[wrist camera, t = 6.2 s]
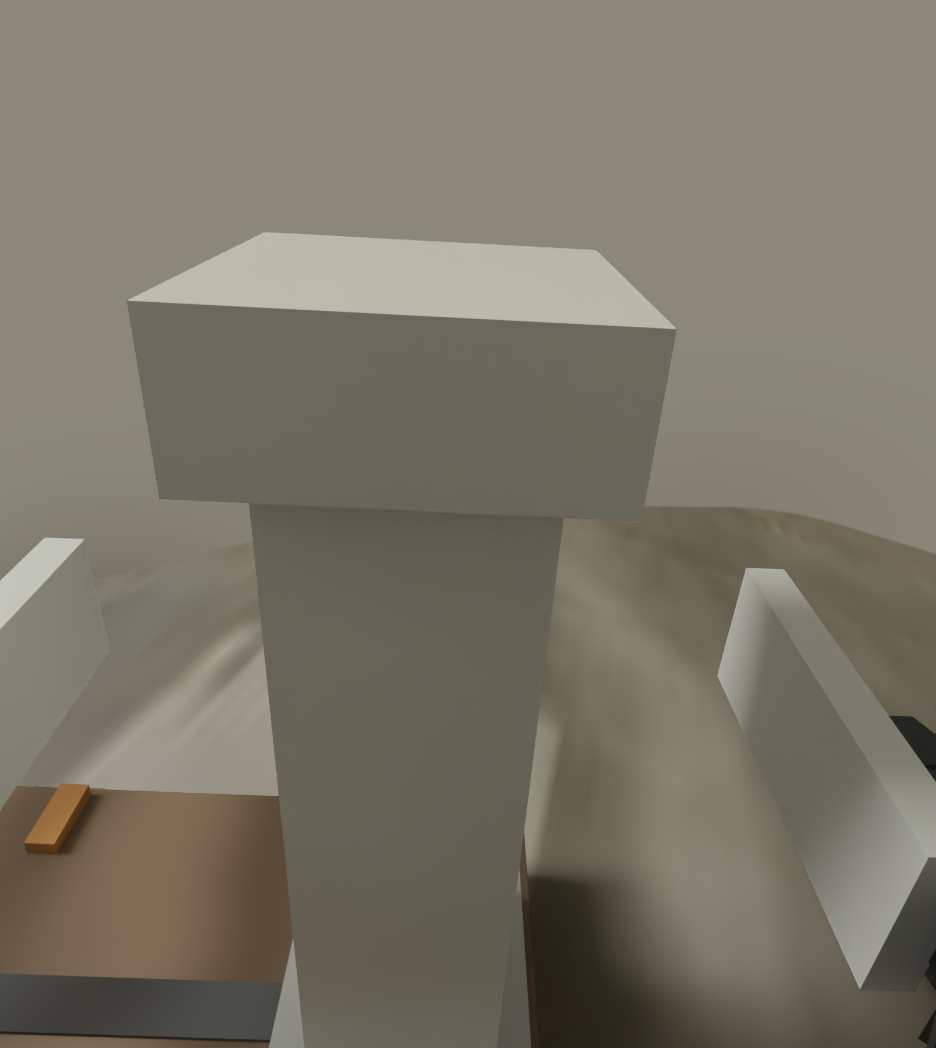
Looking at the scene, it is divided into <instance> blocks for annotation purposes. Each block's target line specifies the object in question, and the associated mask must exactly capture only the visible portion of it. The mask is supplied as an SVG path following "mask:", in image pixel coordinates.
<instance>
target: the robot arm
mask: <svg viewBox="0 0 936 1048" xmlns="http://www.w3.org/2000/svg"><path fill="white" fill-rule="evenodd" d="M109 652H110V649H109V645H108V641H107V636H106V632H105V627H104V623H103V619H102V614H101V610H100V605H99V601H98V597H97V592H96V588H95V583H94V579H93V575H92V570H91V566H90V562H89V557H88V553H87V548H86V544H85V540H84V539H64V538H44V539H43V540H42V541H41V542H40V543H39V544H38V545H37V546H36V547H35V548H34V549H33V550H32V551H31V552H30V553H29V554H28V555H27V556H26V557H24V558H23V559H22V560H21V561H20V562H19V563H18V564H17V565H16V566H15V567H14V568H13V569H12V570H11V571H10V572H9V573H8V574H7V575H6V576H5V577H4V578H3V579H2V580H1V581H0V810H1V809H2V807H3V806H4V805H5V803H6V802H7V800H8V799H9V797H10V796H11V794H12V793H13V792H14V790H15V789H16V787H17V786H18V784H19V783H20V781H21V780H22V778H23V777H24V776H25V774H26V773H27V771H28V770H29V768H30V767H31V765H32V764H33V762H34V761H35V760H36V758H37V757H38V755H39V754H40V752H41V751H42V749H43V748H44V746H45V745H46V744H47V742H48V741H49V739H50V738H51V736H52V735H53V733H54V732H55V730H56V729H57V728H58V726H59V725H60V723H61V722H62V720H63V719H64V717H65V716H66V714H67V713H68V712H69V710H70V709H71V707H72V706H73V704H74V703H75V701H76V700H77V698H78V697H79V696H80V694H81V693H82V691H83V690H84V688H85V687H86V685H87V684H88V682H89V681H90V680H91V678H92V677H93V675H94V674H95V672H96V671H97V669H98V668H99V666H100V665H101V664H102V662H103V661H104V659H105V658H106V656H107V655H108V653H109ZM717 676H718V678H719V680H720V682H721V685H722V687H723V689H724V691H725V693H726V696H727V698H728V700H729V702H730V704H731V707H732V709H733V711H734V713H735V715H736V718H737V720H738V722H739V724H740V726H741V729H742V731H743V733H744V735H745V737H746V740H747V742H748V744H749V746H750V748H751V751H752V753H753V755H754V757H755V759H756V762H757V764H758V766H759V768H760V770H761V773H762V775H763V777H764V779H765V781H766V784H767V786H768V788H769V790H770V792H771V795H772V797H773V799H774V801H775V804H776V806H777V808H778V810H779V812H780V815H781V817H782V819H783V821H784V823H785V826H786V828H787V830H788V832H789V834H790V837H791V839H792V841H793V843H794V845H795V848H796V850H797V852H798V854H799V856H800V859H801V861H802V863H803V865H804V867H805V870H806V872H807V874H808V876H809V878H810V881H811V883H812V885H813V887H814V889H815V892H816V894H817V896H818V898H819V900H820V903H821V905H822V907H823V909H824V911H825V914H826V916H827V918H828V920H829V923H830V925H831V927H832V929H833V931H834V934H835V936H836V938H837V940H838V942H839V945H840V947H841V949H842V951H843V953H844V956H845V958H846V960H847V962H848V964H849V967H850V969H851V971H852V973H853V975H854V978H855V980H856V982H857V984H858V986H859V989H860V990H892V991H915V989H916V988H917V986H918V984H919V982H920V981H921V979H922V977H923V976H924V974H925V975H926V976H927V978H928V980H929V981H930V983H931V984H932V985H933V987H934V988H935V990H936V733H935V734H934V733H933V732H932V731H930V730H929V729H928V728H927V727H925V726H924V725H923V724H921V723H920V722H919V721H918V720H916V719H915V718H914V717H907V716H888V714H887V713H886V711H885V710H884V709H883V707H882V706H881V704H880V703H879V702H878V700H877V699H876V697H875V696H874V695H873V693H872V692H871V690H870V689H869V688H868V686H867V685H866V683H865V682H864V681H863V679H862V678H861V676H860V675H859V674H858V672H857V671H856V669H855V668H854V667H853V665H852V664H851V662H850V661H849V660H848V658H847V657H846V655H845V654H844V653H843V651H842V650H841V648H840V647H839V646H838V644H837V643H836V641H835V640H834V639H833V637H832V636H831V634H830V633H829V632H828V630H827V629H826V627H825V626H824V625H823V623H822V622H821V620H820V619H819V618H818V616H817V615H816V613H815V612H814V611H813V609H812V608H811V606H810V605H809V604H808V602H807V601H806V599H805V598H804V597H803V595H802V594H801V592H800V591H799V590H798V588H797V587H796V585H795V584H794V583H793V581H792V580H791V578H790V577H789V576H788V574H787V573H786V571H785V570H783V569H759V568H746V571H745V575H744V578H743V582H742V586H741V590H740V593H739V597H738V601H737V604H736V608H735V612H734V616H733V619H732V623H731V627H730V631H729V634H728V638H727V642H726V645H725V649H724V653H723V657H722V660H721V664H720V668H719V672H718V675H717ZM918 1039H920V1040H921V1041H923V1042H924V1043H926V1044H927V1048H936V1010H935V1012H934V1013H933V1015H932V1017H931V1018H930V1020H929V1021H928V1023H927V1025H926V1026H925V1028H924V1030H923V1031H922V1033H921V1034H920V1036H919V1038H918Z"/></svg>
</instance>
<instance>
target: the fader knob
mask: <svg viewBox="0 0 936 1048" xmlns="http://www.w3.org/2000/svg"><path fill="white" fill-rule="evenodd" d="M127 304H128V311H129V316H130V323H131V329H132V335H133V340H134V347H135V352H136V359H137V365H138V371H139V377H140V383H141V389H142V395H143V401H144V407H145V413H146V419H147V425H148V431H149V437H150V443H151V449H152V455H153V461H154V467H155V474H156V480H157V486H158V492H159V498H160V499H171V500H193V501H215V502H236V503H249V507H250V517H251V526H252V536H253V546H254V556H255V566H256V576H257V585H258V595H259V605H260V615H261V625H262V635H263V644H264V654H265V664H266V674H267V684H268V694H269V703H270V713H271V723H272V733H273V743H274V753H275V763H276V772H277V782H278V792H279V802H280V812H281V822H282V831H283V841H284V851H285V861H286V871H287V881H288V890H289V900H290V910H291V920H292V930H293V941H292V945H291V950H290V954H289V959H288V963H287V968H286V972H285V977H284V981H283V986H282V990H281V995H280V999H279V1004H278V1008H277V1013H276V1017H275V1022H274V1027H273V1031H272V1036H271V1040H270V1045H269V1048H531V1038H530V1023H529V1007H528V992H527V976H526V961H525V945H524V930H523V914H522V898H521V883H520V867H519V866H520V859H521V851H522V843H523V835H524V827H525V819H526V811H527V803H528V795H529V787H530V779H531V771H532V763H533V755H534V747H535V740H536V732H537V724H538V716H539V708H540V700H541V692H542V684H543V676H544V668H545V660H546V652H547V644H548V636H549V628H550V621H551V613H552V605H553V597H554V589H555V581H556V573H557V565H558V557H559V549H560V541H561V533H562V525H563V518H578V519H600V520H621V521H642V515H643V510H644V504H645V499H646V494H647V488H648V482H649V477H650V472H651V466H652V461H653V455H654V450H655V444H656V439H657V434H658V428H659V423H660V417H661V412H662V406H663V401H664V395H665V390H666V384H667V379H668V373H669V368H670V362H671V357H672V351H673V346H674V341H675V335H676V330H677V329H676V328H675V327H674V326H673V325H672V324H671V323H670V322H669V321H668V320H667V319H666V318H665V317H664V316H663V315H662V314H661V313H660V312H659V311H658V310H657V309H655V308H654V307H653V306H652V305H651V304H650V303H649V302H648V301H647V300H646V299H645V298H644V297H643V296H642V295H641V294H640V293H639V292H638V291H637V290H636V289H635V288H634V287H633V286H632V285H631V284H630V283H629V282H628V281H627V280H626V279H625V278H624V277H623V276H622V275H621V274H620V273H619V272H618V271H617V270H616V269H615V268H614V267H612V266H611V265H610V264H609V263H608V262H607V261H606V260H605V259H604V258H603V257H602V256H601V255H600V254H599V253H598V252H597V251H596V250H584V249H564V248H547V247H545V248H544V247H528V246H507V245H490V244H489V245H488V244H472V243H454V242H434V241H416V240H397V239H379V238H361V237H342V236H340V237H339V236H324V235H323V236H322V235H305V234H285V233H268V232H264V233H262V234H260V235H258V236H256V237H254V238H252V239H250V240H248V241H247V242H244V243H242V244H240V245H238V246H236V247H234V248H232V249H230V250H228V251H226V252H224V253H222V254H220V255H218V256H216V257H214V258H212V259H210V260H208V261H206V262H204V263H202V264H200V265H198V266H196V267H194V268H192V269H190V270H188V271H186V272H184V273H181V274H179V275H177V276H175V277H174V278H171V279H169V280H167V281H165V282H164V283H161V284H159V285H157V286H155V287H153V288H151V289H149V290H147V291H145V292H143V293H141V294H140V295H137V296H135V297H133V298H131V299H129V300H127Z"/></svg>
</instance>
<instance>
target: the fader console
mask: <svg viewBox="0 0 936 1048" xmlns="http://www.w3.org/2000/svg"><path fill="white" fill-rule="evenodd" d="M519 867H520V883H521V898H522V914H523V930H524V945H525V961H526V976H527V992H528V1007H529V1023H530V1038H531V1048H540V1041H539V1028H538V1014H537V1001H536V987H535V974H534V960H533V947H532V933H531V920H530V906H529V893H528V879H527V866H526V852H525V839H524V835H523V843H522V851H521V859H520V866H519ZM292 941H293V930H292V920H291V910H290V900H289V890H288V881H287V871H286V861H285V851H284V841H283V831H282V822H281V812H280V802H279V796H256V795H230V794H205V793H179V792H153V791H128V790H105V789H104V788H90V787H89V785H79V784H60V786H59V788H51V787H25V786H17V787H16V789H15V790H14V792H13V793H12V794H11V796H10V797H9V799H8V800H7V802H6V803H5V805H4V806H3V807H2V809H1V810H0V1048H269V1045H270V1040H271V1036H272V1031H273V1027H274V1022H275V1017H276V1013H277V1008H278V1004H279V999H280V995H281V990H282V986H283V981H284V977H285V972H286V968H287V963H288V959H289V954H290V950H291V945H292Z"/></svg>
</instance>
